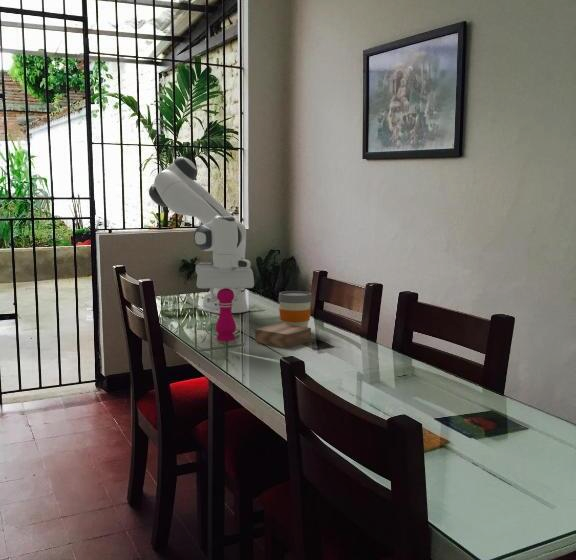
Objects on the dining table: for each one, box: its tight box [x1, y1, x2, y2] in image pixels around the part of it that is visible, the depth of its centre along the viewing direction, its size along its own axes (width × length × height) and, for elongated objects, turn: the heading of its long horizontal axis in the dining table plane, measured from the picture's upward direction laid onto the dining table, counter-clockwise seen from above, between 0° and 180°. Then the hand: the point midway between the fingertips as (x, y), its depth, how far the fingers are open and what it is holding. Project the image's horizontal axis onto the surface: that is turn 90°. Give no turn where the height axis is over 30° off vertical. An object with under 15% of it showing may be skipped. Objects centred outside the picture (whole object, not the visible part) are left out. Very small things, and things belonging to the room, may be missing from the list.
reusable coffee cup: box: [278, 290, 313, 328], centre depth 243 cm, size 13×12×15 cm
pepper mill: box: [215, 288, 237, 342], centre depth 230 cm, size 7×7×20 cm
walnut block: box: [254, 322, 312, 349], centre depth 229 cm, size 14×14×5 cm
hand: (225, 300), depth 229 cm, fingers closed on pepper mill, 6 cm apart
